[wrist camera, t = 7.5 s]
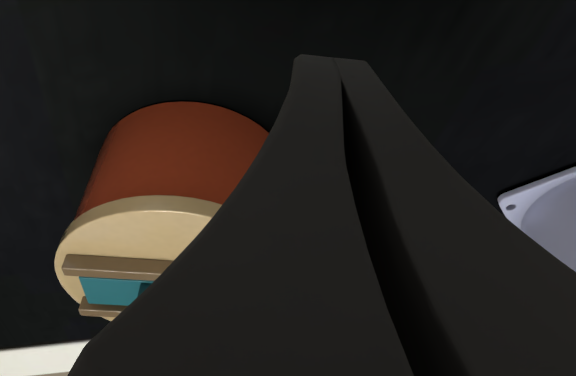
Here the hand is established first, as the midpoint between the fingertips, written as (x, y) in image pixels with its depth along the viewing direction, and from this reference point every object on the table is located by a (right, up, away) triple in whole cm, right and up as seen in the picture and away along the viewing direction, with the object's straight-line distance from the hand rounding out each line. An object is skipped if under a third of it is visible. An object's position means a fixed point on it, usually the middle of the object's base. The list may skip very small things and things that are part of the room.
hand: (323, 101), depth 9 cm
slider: (-8, -6, +12) cm, 15 cm away
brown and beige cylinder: (-6, -1, +17) cm, 17 cm away
